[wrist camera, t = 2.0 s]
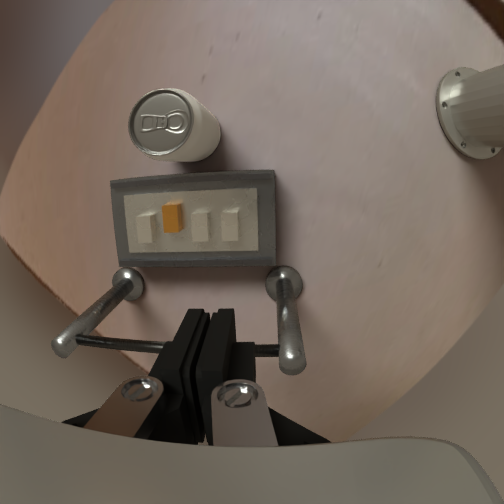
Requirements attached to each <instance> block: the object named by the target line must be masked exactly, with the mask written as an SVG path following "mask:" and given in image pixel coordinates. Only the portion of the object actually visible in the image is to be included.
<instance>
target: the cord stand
mask: <svg viewBox="0 0 504 504" xmlns="http://www.w3.org/2000/svg"><path fill="white" fill-rule="evenodd" d="M112 284H113V287H112V288H111V289H110V290H109V291H108V292H106V293H105V294H104V295H103V296H102V297H101V298H99V299H98V300H97V301H96V302H95V303H94V304H93V305H91V306H90V307H89V308H88V309H87V310H86V311H85V312H83V313H82V314H81V315H80V316H79V317H78V318H77V319H76V320H74V321H73V322H72V323H71V324H70V325H69V326H68V327H67V328H66V329H64V330H63V331H62V332H61V333H60V334H59V335H58V336H57V337H56V338H55V339H53V340H52V342H51V346H52V349H53V351H54V352H55V354H56V355H58V356H59V357H61V358H67V357H68V356H69V355H70V354H71V353H72V352H73V351H74V349H75V348H76V347H77V346H78V345H84V346H92V347H99V348H107V349H116V350H126V351H136V352H147V353H160V351H161V350H162V348H163V346H164V344H165V342H158V341H143V340H131V339H119V338H109V337H99V336H90V335H89V334H90V333H91V332H92V331H93V330H94V329H95V328H96V327H97V326H98V325H99V324H100V323H101V321H102V320H103V319H104V318H105V317H106V316H107V315H108V314H109V313H110V312H111V311H112V310H113V309H114V308H115V307H116V306H117V305H118V304H119V303H120V302H121V301H122V300H123V299H124V300H128V301H132V300H136V299H137V298H138V297H139V296H140V295H141V294H142V293H143V291H144V280H143V278H142V276H141V274H140V273H139V272H138V271H137V270H135V269H133V268H130V267H124V268H121V269H120V270H118V271H117V272H116V273H115V274H114V276H113V280H112ZM301 290H302V279H301V276H300V274H299V273H298V272H297V270H295V269H294V268H292V267H289V266H279V267H276V268H274V269H273V270H272V271H270V273H269V274H268V276H267V278H266V291H267V293H268V295H269V296H270V297H271V298H272V299H274V300H275V301H276V303H277V325H278V344H269V345H255V357H279V368H280V370H281V371H282V372H283V373H285V374H287V375H297V374H299V373H301V372H302V371H303V370H304V369H305V367H306V358H305V352H304V346H303V341H302V335H301V329H300V323H299V318H298V312H297V307H296V301H295V298H296V297H297V296H298V295H299V294H300V292H301Z"/></svg>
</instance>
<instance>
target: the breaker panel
mask: <svg viewBox="0 0 504 504" xmlns="http://www.w3.org/2000/svg"><path fill="white" fill-rule="evenodd" d="M110 186H111V199H112V210H113V220H114V230H115V238H116V246H117V254H118V261H119V267H217V266H276V226H275V176H274V170H242V171H218V172H200V173H184V174H171V175H158V176H147V177H137V178H127V179H119V180H112V181H110Z"/></svg>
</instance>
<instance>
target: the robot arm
mask: <svg viewBox="0 0 504 504" xmlns="http://www.w3.org/2000/svg"><path fill="white" fill-rule="evenodd" d="M442 106H443V107H442ZM436 108H437V113H438V117H439V120H440V124H441V126H442V128H443V130H444V133H445V135H446V136H447V138H448V139H449V141H450V142H451V143H452V144H453V145H454V147H455V148H456V149H457V150H459V151H460V152H461V153H462V154H464V155H466V156H468V157H470V158H474V159H489V158H491V157H493V156H495V155H496V154H497V153H499V151H500V150H501V149H502V148H504V64H503V65H500V66H497V67H494V68H491V69H488V70H485V71H482V72H479V71H477V70H474V69H472V68H466V67H461V68H457V69H454V70H452V71H450V72H448V73H447V74H446V75H445V76H444V77H443V78H442V80H441V81H440V83H439V86H438V89H437V96H436ZM205 433H206V438H207V442H208V445H198V442H201V443H203V441H204V438H205ZM0 504H504V501H503V499H502V497H501V495H500V494H499V492H498V490H497V489H496V487H495V485H494V484H493V482H492V481H491V479H490V478H489V476H488V475H487V473H486V472H485V470H484V469H483V468H482V467H481V465H480V464H479V463H478V462H477V460H475V458H474V457H473V456H472V455H471V454H470V453H469V452H467V451H466V450H465V449H464V448H462V447H460V446H459V445H457V444H455V443H452V442H450V441H446V440H441V439H435V438H426V437H412V436H410V437H384V438H370V439H361V440H352V441H343V442H330V441H329V440H327V439H325V438H323V437H321V436H320V435H318V434H316V433H314V432H312V431H310V430H308V429H306V428H305V427H303V426H301V425H299V424H297V423H295V422H294V421H292V420H290V419H288V418H287V417H285V416H283V415H281V414H280V413H278V412H276V411H274V410H273V409H271V408H269V407H268V406H267V402H266V398H265V394H264V391H263V389H262V388H261V387H260V386H259V385H258V384H257V383H256V365H255V343H254V342H236V329H235V314H234V309H233V308H232V309H218V313H213V314H212V317H211V321H210V314H209V313H205V312H204V309H188V311H187V313H186V315H185V317H184V319H183V321H182V323H181V325H180V327H179V329H178V331H177V333H176V335H175V337H174V340H173V341H167V342H165V344H164V346H163V348H162V350H161V351H160V353H159V355H158V357H157V359H156V361H155V363H154V365H153V367H152V369H151V371H150V373H149V375H148V376H135V377H132V378H129V379H127V380H125V381H123V382H122V383H121V384H120V385H119V386H118V387H117V388H116V389H115V391H114V392H113V393H112V394H111V395H110V397H109V398H108V399H107V400H106V401H105V403H104V404H103V405H102V406H101V407H100V408H98V409H96V410H93V411H91V412H88V413H85V414H82V415H80V416H77V417H74V418H71V419H68V420H65V421H63V422H57V421H53V420H49V419H46V418H43V417H39V416H36V415H33V414H30V413H26V412H24V411H20V410H18V409H14V408H11V407H8V406H5V405H2V404H0Z"/></svg>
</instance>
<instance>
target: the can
mask: <svg viewBox="0 0 504 504" xmlns="http://www.w3.org/2000/svg"><path fill="white" fill-rule="evenodd" d="M128 129H129V135H130V138H131V140H132V142H133V143H134V145H135V146H136V147H137V148H138V149H139V150H140V151H141V152H142V153H143V154H144V155H146V156H147V157H149V158H152V159H154V160H158V161H172V162H195V161H200V160H203V159H205V158H207V157H208V156H209V155H211V154H212V153H213V152H214V150H215V149H216V148H217V146H218V144H219V141H220V135H221V133H220V126H219V123H218V121H217V119H216V117H215V116H214V115H213V114H212V113H211V112H210V111H209V110H208V109H207V108H205V107H204V106H203V105H202V104H201V103H200V102H199V101H197V100H196V99H195V98H194V97H193V96H191V95H190V94H188V93H187V92H185V91H182V90H179V89H173V88H167V89H157V90H154V91H151V92H149V93H147V94H146V95H144V96H143V97H142V98H140V99H139V100H138V102H137V103H136V104H135V106H134V107H133V109H132V111H131V113H130V117H129V122H128Z"/></svg>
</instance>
